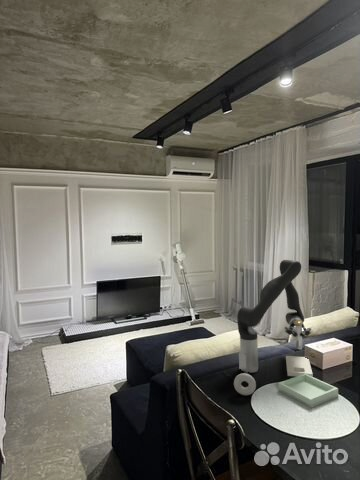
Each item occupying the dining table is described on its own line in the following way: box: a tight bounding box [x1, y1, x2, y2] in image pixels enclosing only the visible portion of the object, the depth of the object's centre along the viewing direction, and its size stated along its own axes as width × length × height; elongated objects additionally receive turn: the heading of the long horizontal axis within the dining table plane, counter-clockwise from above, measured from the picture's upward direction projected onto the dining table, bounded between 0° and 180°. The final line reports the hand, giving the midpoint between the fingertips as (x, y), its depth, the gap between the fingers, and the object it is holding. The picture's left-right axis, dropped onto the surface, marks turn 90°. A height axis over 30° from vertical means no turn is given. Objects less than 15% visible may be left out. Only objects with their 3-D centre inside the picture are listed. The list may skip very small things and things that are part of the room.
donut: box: [233, 372, 257, 396], centre depth 149 cm, size 10×4×10 cm, turn 77°
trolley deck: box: [285, 355, 314, 377], centre depth 176 cm, size 22×12×2 cm, turn 164°
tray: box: [278, 374, 339, 409], centre depth 149 cm, size 18×18×4 cm
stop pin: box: [294, 321, 304, 350], centre depth 168 cm, size 5×5×14 cm
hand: (299, 335), depth 166 cm, fingers closed on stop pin, 3 cm apart
